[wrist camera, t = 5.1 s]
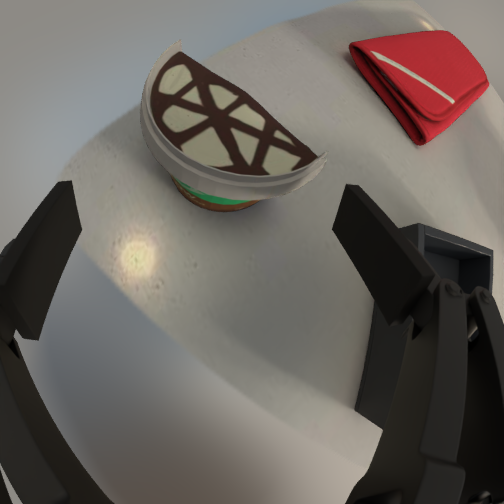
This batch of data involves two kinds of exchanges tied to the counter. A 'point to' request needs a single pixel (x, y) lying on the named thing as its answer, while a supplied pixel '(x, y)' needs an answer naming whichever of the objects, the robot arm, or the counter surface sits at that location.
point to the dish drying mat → (421, 78)
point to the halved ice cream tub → (218, 138)
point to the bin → (389, 338)
